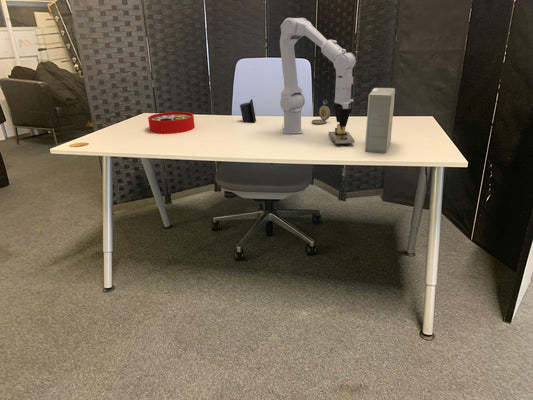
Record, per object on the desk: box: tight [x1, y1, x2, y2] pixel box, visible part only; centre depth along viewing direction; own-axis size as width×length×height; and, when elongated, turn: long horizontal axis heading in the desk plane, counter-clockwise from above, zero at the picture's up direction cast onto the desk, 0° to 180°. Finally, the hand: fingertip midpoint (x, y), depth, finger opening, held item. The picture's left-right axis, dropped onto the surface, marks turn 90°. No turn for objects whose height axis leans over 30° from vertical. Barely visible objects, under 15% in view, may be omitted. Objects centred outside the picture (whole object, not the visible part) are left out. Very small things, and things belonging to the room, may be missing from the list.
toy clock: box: [147, 111, 196, 135], centre depth 177 cm, size 20×6×20 cm
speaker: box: [239, 99, 257, 124], centre depth 186 cm, size 8×6×10 cm
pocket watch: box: [311, 99, 331, 125], centre depth 180 cm, size 8×8×10 cm
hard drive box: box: [364, 87, 396, 154], centre depth 140 cm, size 16×8×20 cm, turn 159°
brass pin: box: [336, 123, 346, 136], centre depth 152 cm, size 3×3×6 cm
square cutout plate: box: [327, 127, 355, 147], centre depth 153 cm, size 18×7×3 cm, turn 179°
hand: (341, 124), depth 151 cm, fingers open, 7 cm apart
